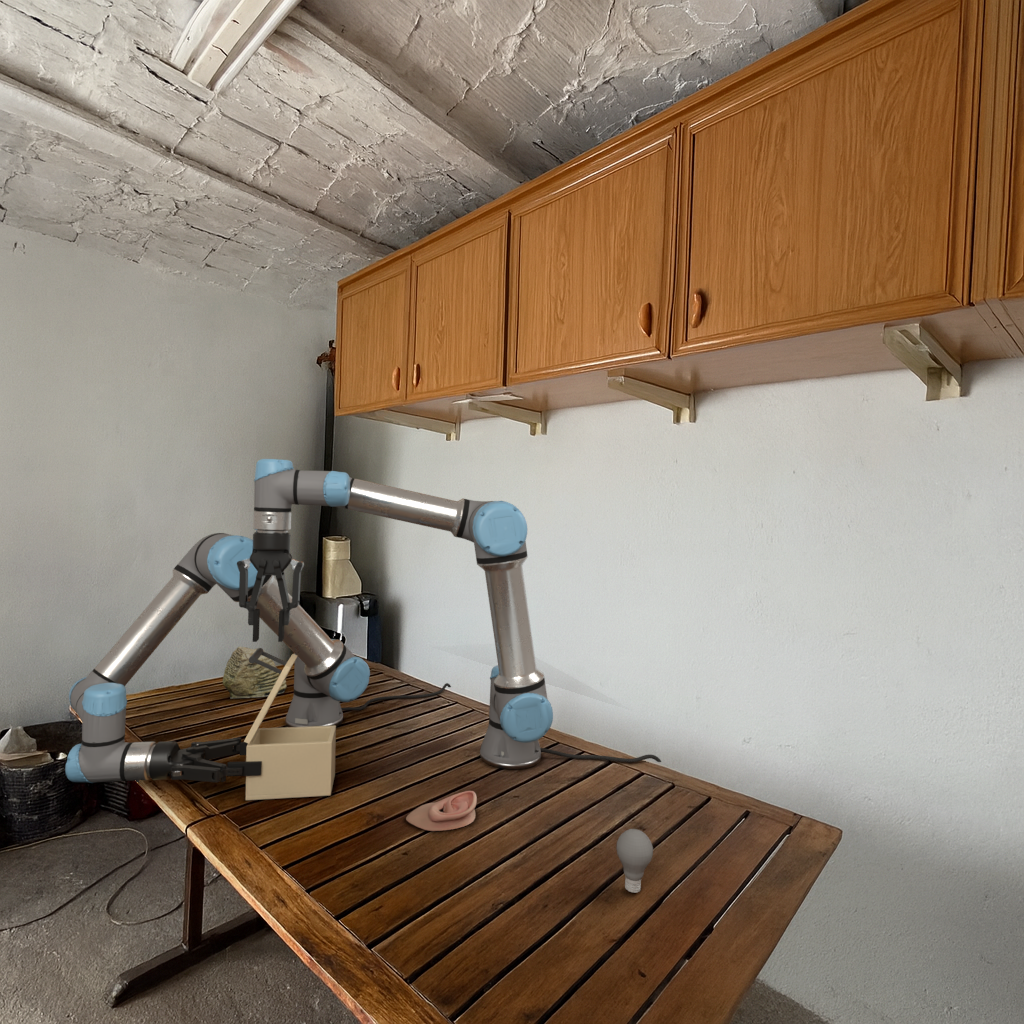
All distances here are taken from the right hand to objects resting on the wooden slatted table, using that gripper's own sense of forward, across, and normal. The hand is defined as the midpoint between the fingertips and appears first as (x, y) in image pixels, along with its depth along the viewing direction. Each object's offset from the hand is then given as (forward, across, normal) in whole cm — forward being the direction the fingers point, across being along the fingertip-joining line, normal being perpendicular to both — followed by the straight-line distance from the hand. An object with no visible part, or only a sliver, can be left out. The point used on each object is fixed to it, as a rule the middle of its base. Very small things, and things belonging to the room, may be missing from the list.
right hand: (268, 640), depth 136 cm
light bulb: (+32, +67, -44) cm, 86 cm away
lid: (+13, +2, 0) cm, 13 cm away
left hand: (+25, 0, 0) cm, 25 cm away
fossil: (+32, -15, +66) cm, 75 cm away
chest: (+32, +6, 0) cm, 33 cm away
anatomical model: (+32, +37, -16) cm, 52 cm away
